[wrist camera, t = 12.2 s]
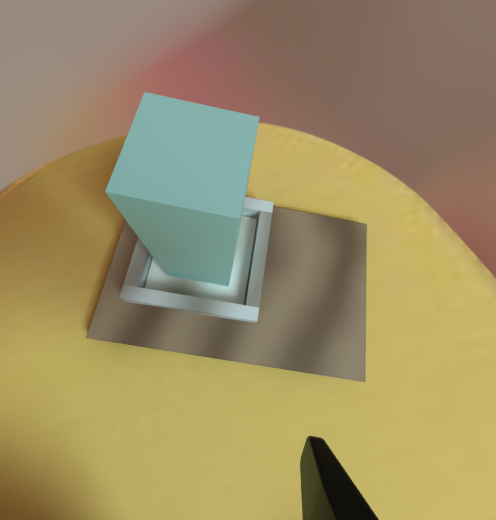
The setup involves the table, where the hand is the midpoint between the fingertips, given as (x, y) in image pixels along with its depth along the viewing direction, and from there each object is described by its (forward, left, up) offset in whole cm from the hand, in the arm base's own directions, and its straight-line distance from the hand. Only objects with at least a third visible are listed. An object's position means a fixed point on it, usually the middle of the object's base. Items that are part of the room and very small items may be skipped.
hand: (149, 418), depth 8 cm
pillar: (-1, +9, -12) cm, 15 cm away
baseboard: (+3, +8, -13) cm, 16 cm away
